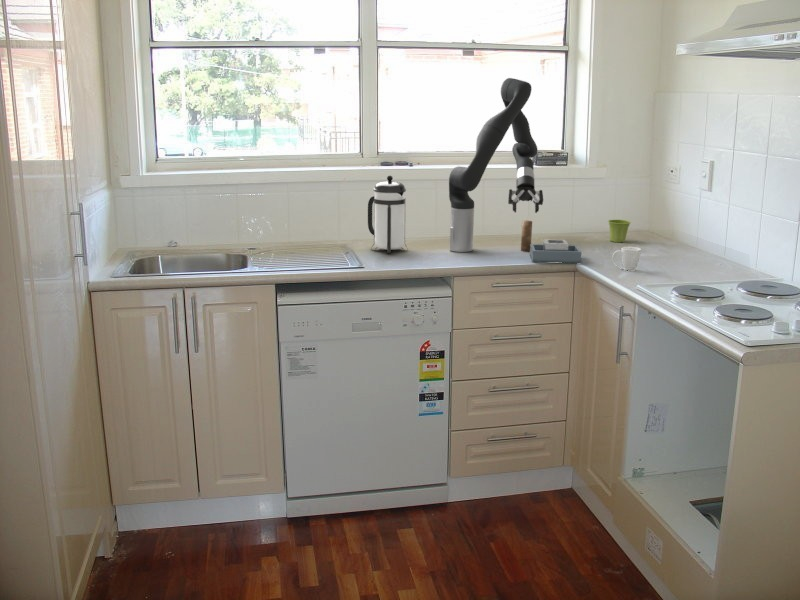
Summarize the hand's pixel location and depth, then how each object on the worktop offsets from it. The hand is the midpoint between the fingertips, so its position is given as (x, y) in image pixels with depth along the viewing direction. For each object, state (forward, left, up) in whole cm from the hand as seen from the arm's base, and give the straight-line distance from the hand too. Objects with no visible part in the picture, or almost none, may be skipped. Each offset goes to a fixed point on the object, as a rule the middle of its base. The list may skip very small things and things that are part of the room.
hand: (525, 211), depth 326 cm
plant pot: (+41, +16, -15) cm, 46 cm away
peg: (0, -9, -14) cm, 17 cm away
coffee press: (-56, -15, -15) cm, 60 cm away
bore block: (+10, -25, -14) cm, 31 cm away
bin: (+10, -25, -14) cm, 31 cm away
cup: (+34, -39, -15) cm, 54 cm away
